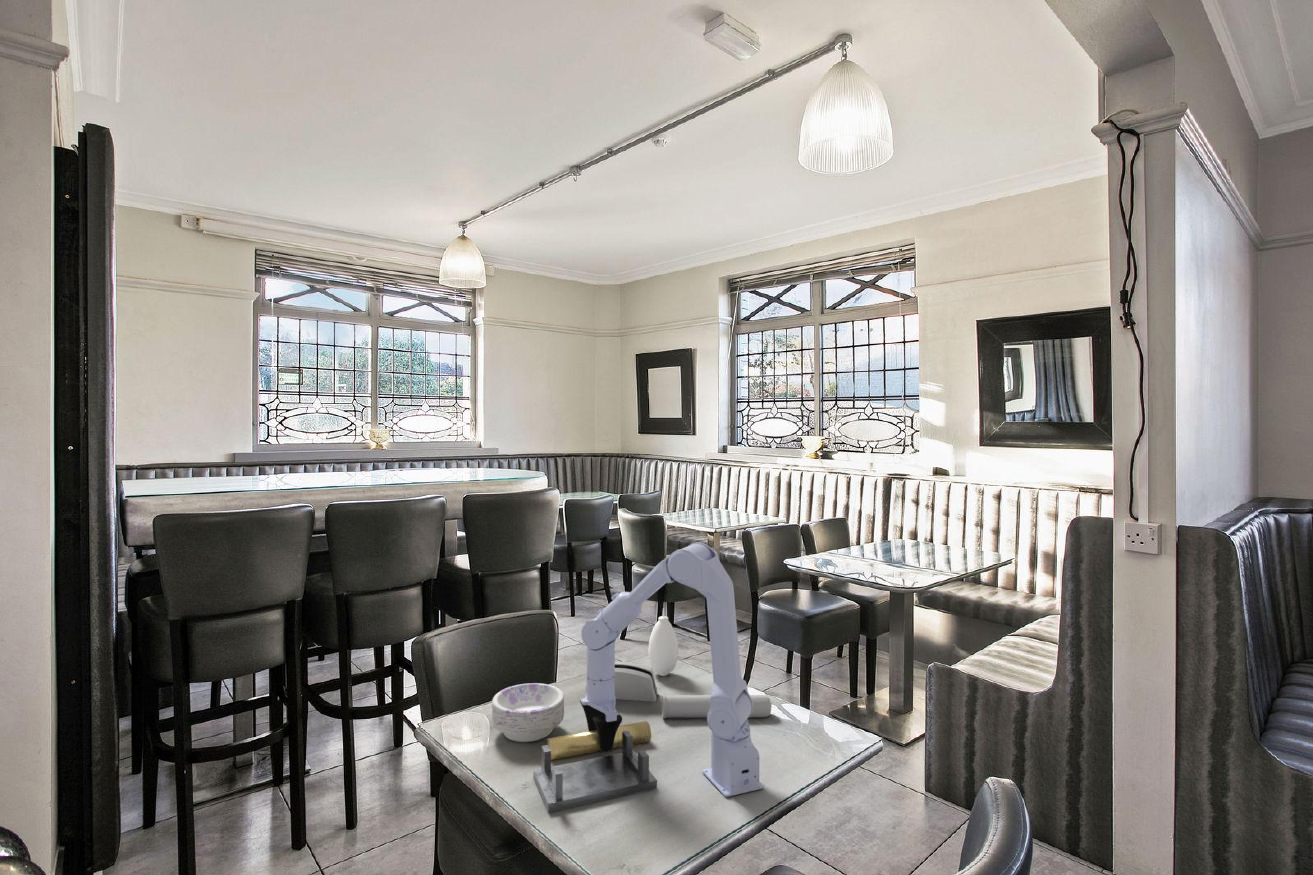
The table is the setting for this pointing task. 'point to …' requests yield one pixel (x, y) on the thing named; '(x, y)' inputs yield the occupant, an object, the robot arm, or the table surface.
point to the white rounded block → (634, 682)
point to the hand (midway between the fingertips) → (600, 742)
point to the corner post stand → (593, 777)
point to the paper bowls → (527, 711)
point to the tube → (705, 706)
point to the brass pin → (595, 740)
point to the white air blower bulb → (663, 647)
